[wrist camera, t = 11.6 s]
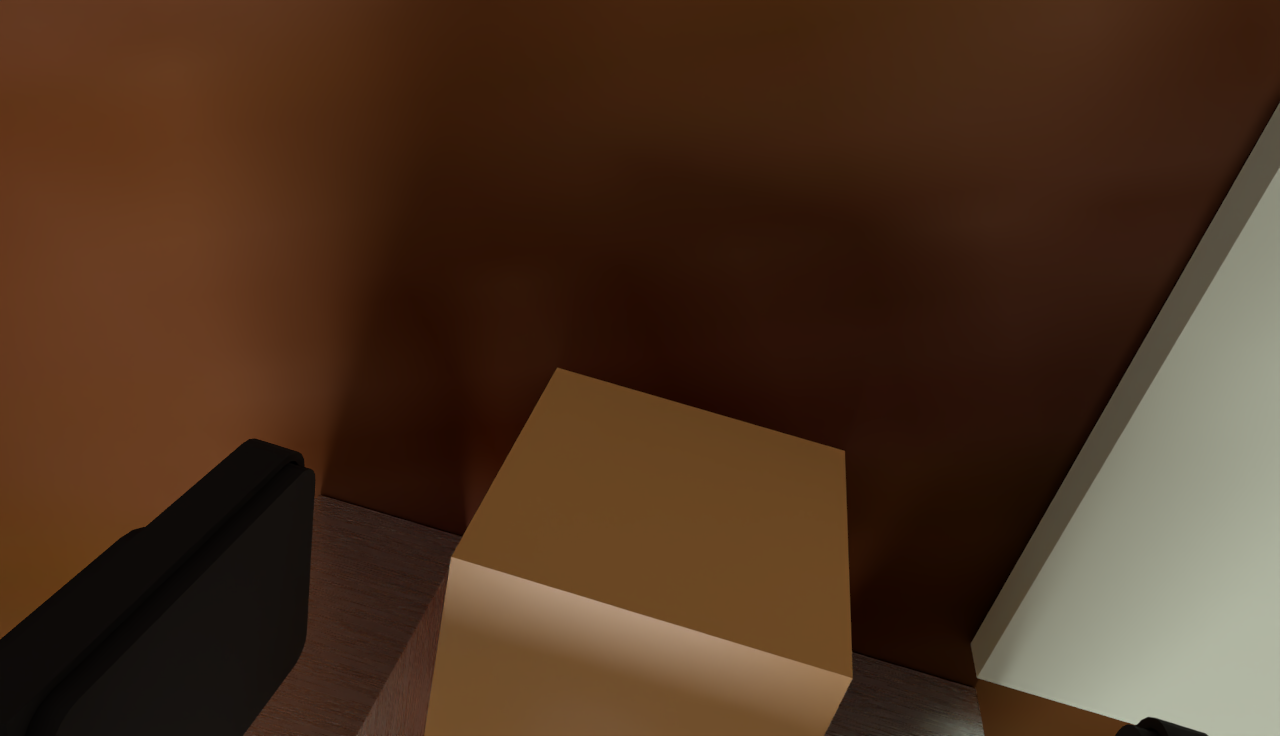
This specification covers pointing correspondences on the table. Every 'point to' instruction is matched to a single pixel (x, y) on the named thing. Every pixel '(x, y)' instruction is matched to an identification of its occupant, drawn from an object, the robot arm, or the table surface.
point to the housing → (409, 633)
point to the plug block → (648, 578)
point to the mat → (1171, 508)
